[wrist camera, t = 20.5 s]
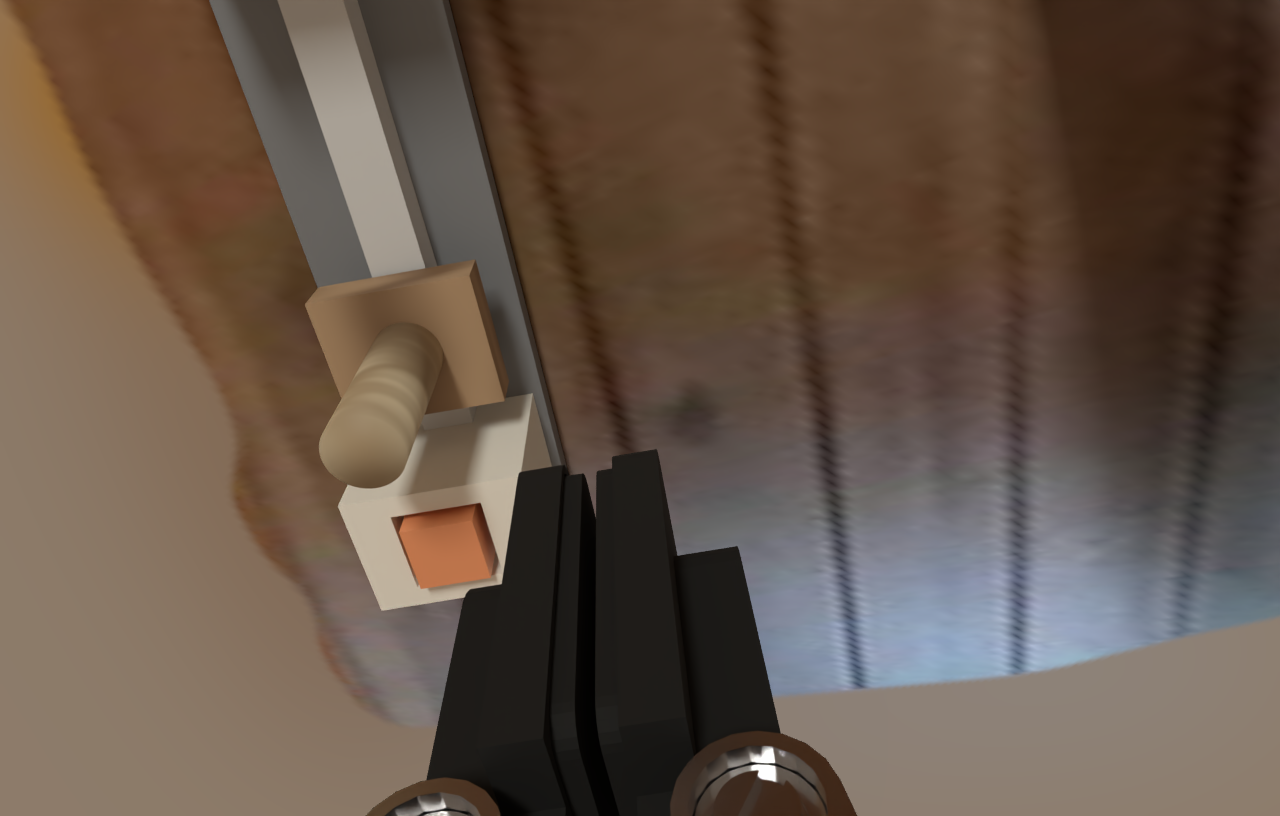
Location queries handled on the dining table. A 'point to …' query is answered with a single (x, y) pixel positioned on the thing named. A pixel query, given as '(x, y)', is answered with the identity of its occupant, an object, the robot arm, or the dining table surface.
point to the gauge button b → (448, 545)
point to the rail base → (428, 152)
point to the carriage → (402, 363)
